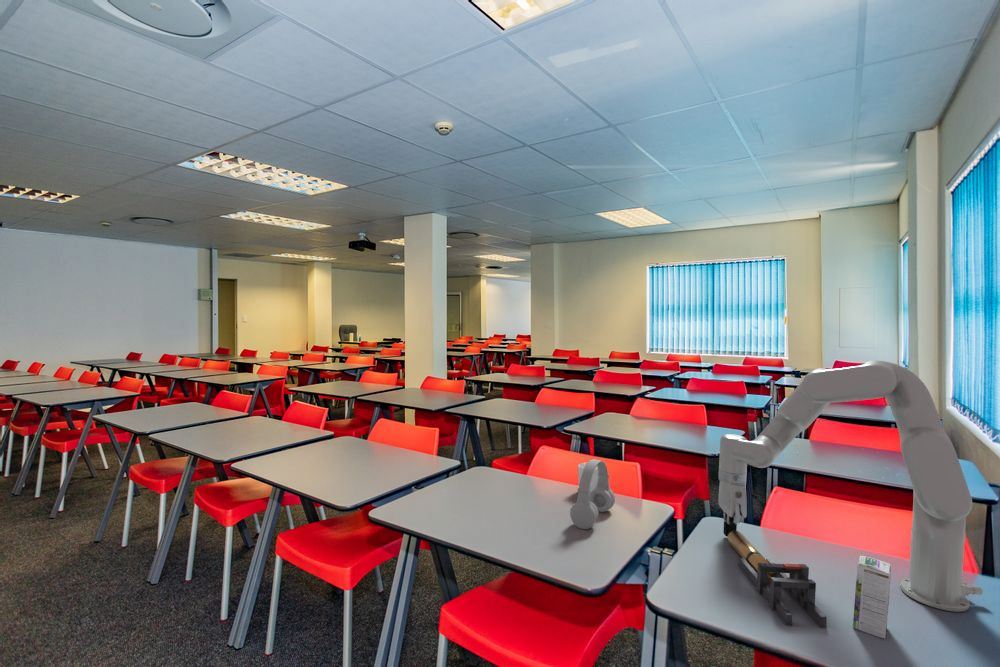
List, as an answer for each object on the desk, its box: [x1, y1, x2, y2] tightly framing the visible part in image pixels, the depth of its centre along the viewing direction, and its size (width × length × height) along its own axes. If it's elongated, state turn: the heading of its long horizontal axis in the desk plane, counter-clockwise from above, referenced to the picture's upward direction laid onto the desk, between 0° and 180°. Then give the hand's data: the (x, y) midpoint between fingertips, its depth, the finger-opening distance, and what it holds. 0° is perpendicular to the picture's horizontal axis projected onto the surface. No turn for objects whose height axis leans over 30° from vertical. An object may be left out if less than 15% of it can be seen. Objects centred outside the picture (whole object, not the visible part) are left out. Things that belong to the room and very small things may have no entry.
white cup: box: [577, 462, 599, 494], centre depth 182 cm, size 8×8×10 cm
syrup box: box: [852, 555, 892, 640], centre depth 106 cm, size 6×6×14 cm
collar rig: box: [737, 556, 828, 629], centre depth 118 cm, size 9×25×9 cm, turn 176°
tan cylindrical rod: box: [727, 530, 777, 584], centre depth 133 cm, size 20×4×4 cm, turn 176°
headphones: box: [569, 458, 616, 530], centre depth 159 cm, size 20×8×19 cm, turn 148°
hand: (729, 535), depth 147 cm, fingers closed
